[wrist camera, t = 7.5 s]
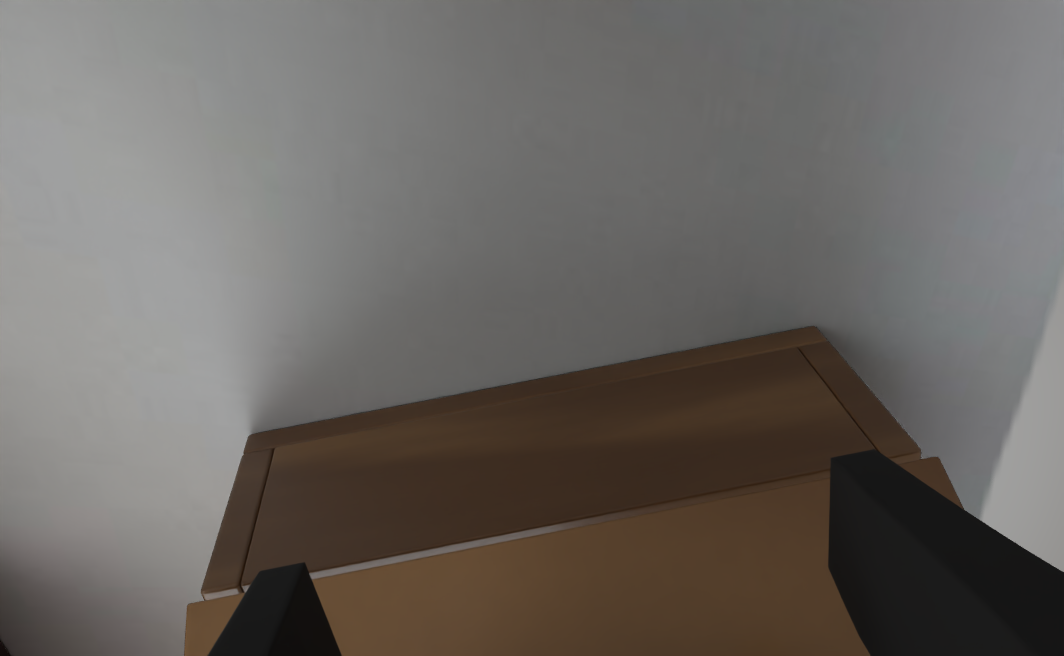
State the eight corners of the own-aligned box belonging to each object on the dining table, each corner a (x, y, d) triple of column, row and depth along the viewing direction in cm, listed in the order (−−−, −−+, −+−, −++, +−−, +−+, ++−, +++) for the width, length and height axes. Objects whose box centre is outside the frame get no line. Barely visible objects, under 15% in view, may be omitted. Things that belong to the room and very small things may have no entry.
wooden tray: (811, 634, 27) (890, 792, 23) (363, 724, 27) (350, 903, 22) (815, 324, 21) (923, 449, 17) (247, 433, 21) (198, 592, 17)
